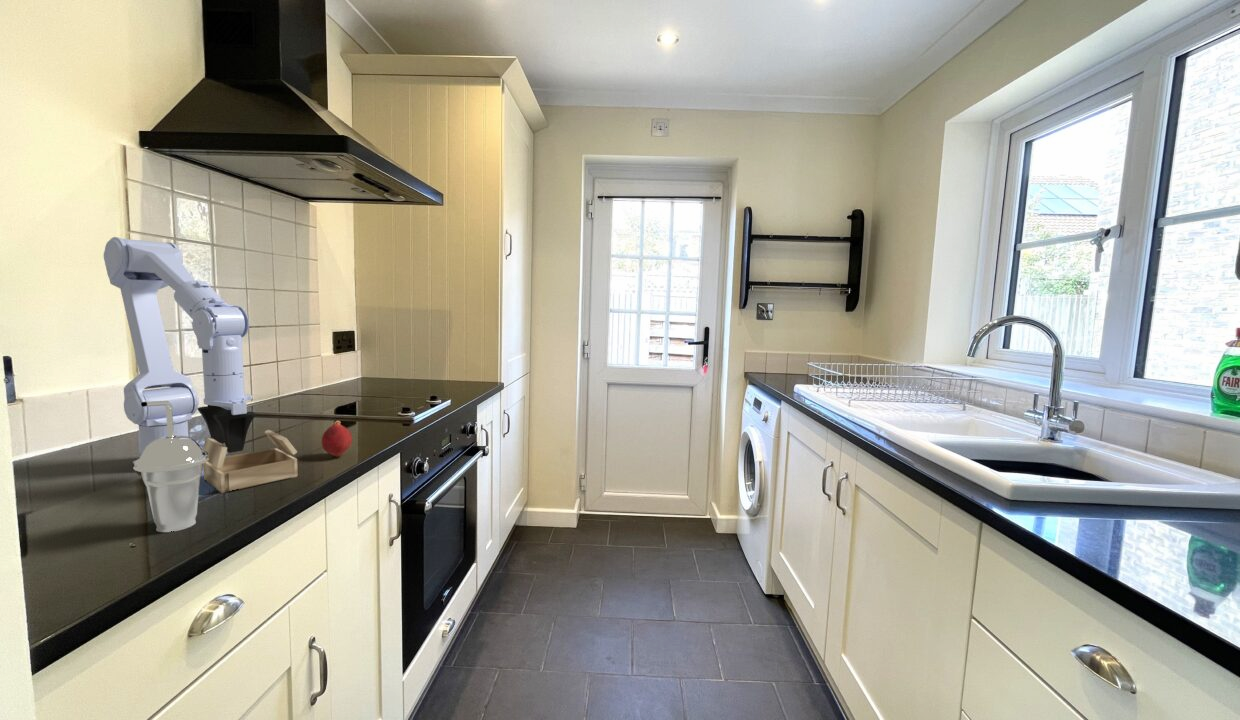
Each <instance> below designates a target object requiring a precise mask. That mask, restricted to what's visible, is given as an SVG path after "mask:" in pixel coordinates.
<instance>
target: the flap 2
mask: <svg viewBox="0 0 1240 720" xmlns="http://www.w3.org/2000/svg"><path fill="white" fill-rule="evenodd" d="M264 434H265V435H266V436H267V437H268V438H269V440H270V441H271V442H272V443H273V445H275V446H276V448H277V447H278V449H279V448H280V450H281V449H282V451H284V452H287V453H288V454H290V455H292V456H294V455H296V454H297V453H298V451H297V449H296V448H295V447H294V446H293V445H292V443H291V442H290V440H289V439H288V438H287V437H285V436H283V435H281V434H279V433H276V432H275V431H272V429H271V430H270V429H267V430H265V431H264Z"/></svg>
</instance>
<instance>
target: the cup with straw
mask: <svg viewBox="0 0 1240 720" xmlns="http://www.w3.org/2000/svg"><path fill="white" fill-rule="evenodd" d="M163 405H165V407H166V418H167V435H168V436H164V437H161V438H159V439H156V440H154V441H153V442H151V443H150V444H149V445H148V446H147V447H146V448H145V449H144V451H143V453H142V455H141V457H140V458H138V459H136V460H134V461H135V463H134V464H133V467H132V468H133V470H134V471H135V472H139V473H140V475H141V479H142V481H143V483H144V484H143V485H145V486H146V491H147V494H148V501H149V504H150V509H151V513H152V517H153V522H154V524H155V526H156V528H155V531H156V532H158V533H172V532H173V531H174V532H178V531H182V530H185V529H188V528H191V527H192V526H194V525H196V523H197V521H196V517H197V515H198V504H199V494H200V483H201V481H200V480H201V477H202V472H204V471H203V463H205V462H207V461H208V460H209V458H210V457H209V456H208V453H207V452H206V451H203V447H201V446H200V444H199V443H198V442H197V441H196V440H195V439H193V438H192V437H187V436H182V435H174V430H173V413H172V405H171V403H170V402H169V401H146V402H142V403H141V406H143V407H147V406H163ZM171 531H172V532H171Z"/></svg>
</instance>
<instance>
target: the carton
mask: <svg viewBox="0 0 1240 720" xmlns="http://www.w3.org/2000/svg"><path fill="white" fill-rule="evenodd" d="M202 472H203V480H204V481H205V480H206V481H207V482H206V481H205V482H206V483H208V484H209V483H210V484H211V485H210V484H209V485H210V486H211V487H213V488H214V487H215V488H216V489H215V490H216V491H218V492H219V493H220V494H225V492H226V493H229V492H228V491H230V492H233V491H232V490H235V491H237V490H236V489H239V490H243V489H247V488H252V487H257V486H261V485H265V484H270V483H274V482H280V481H283V480H288V479H293V478H298V472H299V471H298V458H296V457H294V455H292V454H290V453H288V452H287V453H286V451H284V450H281V449H279V448H277V447H275V448H267V449H261V450H256V451H250V452H245V453H239V454H232V455H228V456H225V459H224V463H223V467H222V468H216V467H215V466H213V465H212V464H211V463H209V462H208V461H207V462H205V463H203V471H202Z"/></svg>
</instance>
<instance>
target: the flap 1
mask: <svg viewBox="0 0 1240 720" xmlns="http://www.w3.org/2000/svg"><path fill="white" fill-rule="evenodd" d="M202 450H203V451H206V452H207V453H208V456H209V457H210V458H209V460H208V462H209V463H211V464H212V465H213V466H215V467H216V468H222V467H223V463H224V459H225V457H226V454H227V452H228V451H227V447H226V446H225V444H224V443H219V442H218V441H216V440H214V439H212V438H211V436H210V437H209V436H207V437H206V436H205V439H204V444H203V447H202Z"/></svg>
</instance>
